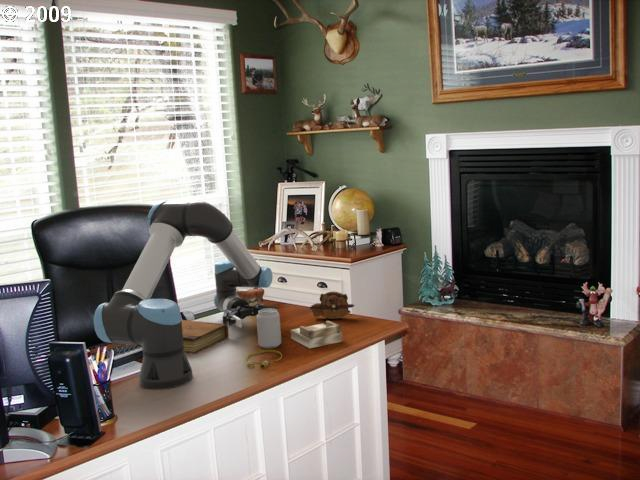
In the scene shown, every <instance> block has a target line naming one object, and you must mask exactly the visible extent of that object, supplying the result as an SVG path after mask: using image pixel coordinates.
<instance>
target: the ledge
mask: <svg viewBox="0 0 640 480" xmlns="http://www.w3.org/2000/svg"><path fill="white" fill-rule="evenodd" d="M290 338H291V340H292V341H295V342H297V343H299V344H301V345H302V346H304V347H306V348H308V349H314V348H318V347H322V346H323V347H324V346H327V345H328V346H329V345H332V344H337V343H342V342H343V332H341V326H340V325H339V324H338V323H336V322H333V321H330V320H326V321H325V323H318V324H313V325H309V326H303V325H301V326H299V327H297V328H293V329H290Z"/></svg>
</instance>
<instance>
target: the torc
mask: <svg viewBox="0 0 640 480" xmlns="http://www.w3.org/2000/svg"><path fill="white" fill-rule="evenodd" d="M265 352H266V353H274V354H278V355H280V357H279V358H278V359H273V360H264V361H262V362H257V361H252V360H251V359H249V358H250V357H252V355H253V356H255V354H256V355H260V354H265ZM259 353H260V354H259ZM249 356H250V357H249ZM282 359H283V354H282V352H280V351H278V350H275V349H263V350H258V351H254V352H252V353H250V354H248V355H247V356H246V358H245V360H246V363H247V367H248V368H249V369H253V368H255V367H256V366H255V364H257V365H258V364H260V366H259V369H261V370H264V369H266V368H267V367H268V365H269V364H273V363H277V362H278V361H279V362H280V361H281V360H282Z"/></svg>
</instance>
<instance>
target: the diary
mask: <svg viewBox="0 0 640 480" xmlns="http://www.w3.org/2000/svg"><path fill="white" fill-rule="evenodd" d="M182 332H183V344H184V352H185V354H193V355H196V354H199V353H200V352H203V351H204V350H207V349H209V348H211V347H213V346H215V345H216V344H219V343H221V342H223V341H225V340H227V339H229V335H230V333H229V324H227V323H226V324H223V323H219V322H218V323H217V322H208V321H197V320H187V319H182Z"/></svg>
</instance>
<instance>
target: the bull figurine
mask: <svg viewBox="0 0 640 480" xmlns="http://www.w3.org/2000/svg"><path fill="white" fill-rule="evenodd" d="M236 289H237V290H236V292H237V297H240V298H242V299H244V300H245V301H247V302H248V301H251V302H252V303H253V302H254V301H255V300H256V302H255V304H254V305H253V306H256V304H259V303H260V305H264V301H265V299H264V298H263V297H264V295H265V289H264V288H254V289H253V288H252V289H243V288H240V289H239V288H238V287H236Z"/></svg>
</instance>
